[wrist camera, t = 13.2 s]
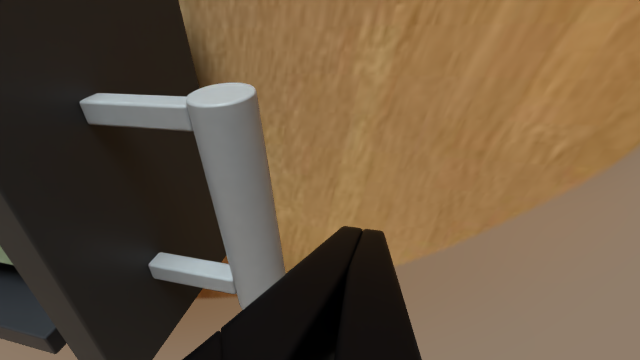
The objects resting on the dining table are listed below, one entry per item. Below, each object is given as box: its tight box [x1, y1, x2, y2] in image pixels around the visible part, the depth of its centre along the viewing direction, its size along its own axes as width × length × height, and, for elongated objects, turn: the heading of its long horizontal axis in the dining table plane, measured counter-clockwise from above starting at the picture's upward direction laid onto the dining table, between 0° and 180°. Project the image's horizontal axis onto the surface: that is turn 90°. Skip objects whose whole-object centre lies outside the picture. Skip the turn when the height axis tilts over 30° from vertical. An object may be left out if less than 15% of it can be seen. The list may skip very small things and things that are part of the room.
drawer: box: [0, 0, 286, 360], centre depth 12 cm, size 17×10×7 cm, turn 94°
